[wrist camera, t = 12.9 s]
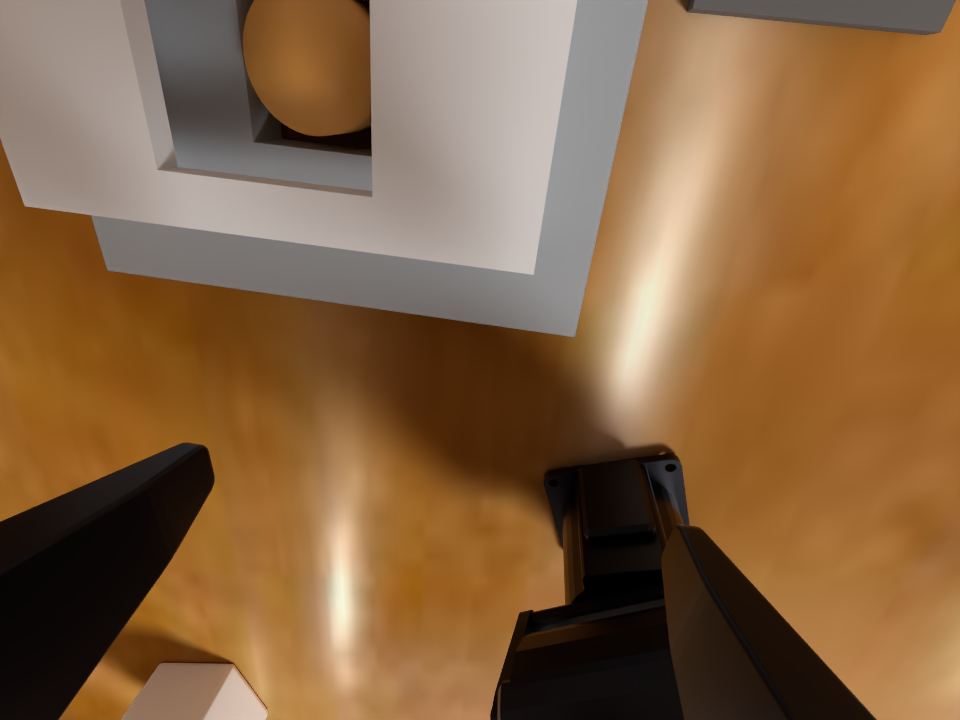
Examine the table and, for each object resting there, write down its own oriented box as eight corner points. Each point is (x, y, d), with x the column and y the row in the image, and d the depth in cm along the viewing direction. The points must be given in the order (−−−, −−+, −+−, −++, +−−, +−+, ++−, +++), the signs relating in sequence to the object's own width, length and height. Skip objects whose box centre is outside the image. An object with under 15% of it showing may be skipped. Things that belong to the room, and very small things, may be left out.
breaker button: (396, 138, 17) (374, 143, 15) (290, 125, 17) (252, 128, 15) (398, 1, 15) (373, -17, 13) (278, -12, 15) (232, -31, 13)
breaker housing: (572, 316, 20) (581, 393, 14) (144, 256, 21) (8, 307, 16) (694, -264, 12) (810, -558, 7) (1, -304, 13) (-367, -580, 8)
